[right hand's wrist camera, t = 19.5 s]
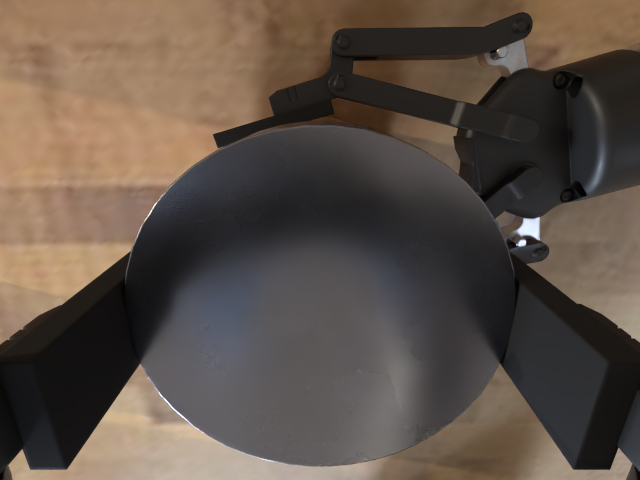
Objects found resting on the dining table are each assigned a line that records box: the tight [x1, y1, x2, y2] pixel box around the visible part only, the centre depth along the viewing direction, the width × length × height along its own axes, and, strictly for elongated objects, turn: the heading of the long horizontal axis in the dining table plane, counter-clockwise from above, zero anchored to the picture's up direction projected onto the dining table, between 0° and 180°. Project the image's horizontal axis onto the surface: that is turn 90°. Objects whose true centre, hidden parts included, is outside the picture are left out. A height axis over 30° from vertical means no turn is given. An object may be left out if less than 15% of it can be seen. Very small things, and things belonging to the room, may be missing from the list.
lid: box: [124, 121, 516, 466], centre depth 11 cm, size 10×10×2 cm
